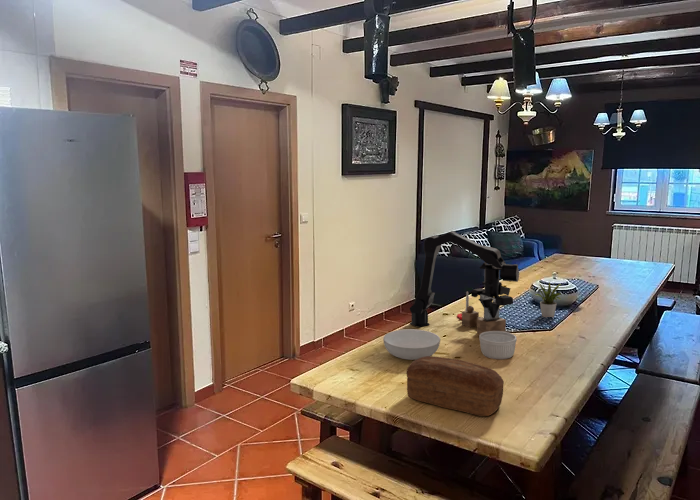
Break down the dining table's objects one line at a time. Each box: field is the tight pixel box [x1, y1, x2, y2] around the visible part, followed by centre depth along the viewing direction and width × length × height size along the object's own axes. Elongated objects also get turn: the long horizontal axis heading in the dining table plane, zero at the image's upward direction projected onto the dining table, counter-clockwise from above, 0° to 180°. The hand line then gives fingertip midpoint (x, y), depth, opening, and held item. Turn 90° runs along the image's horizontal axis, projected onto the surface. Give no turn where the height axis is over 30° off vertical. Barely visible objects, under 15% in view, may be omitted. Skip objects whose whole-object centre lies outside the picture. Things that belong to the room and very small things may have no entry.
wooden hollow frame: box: [461, 305, 507, 335], centre depth 222 cm, size 9×19×9 cm, turn 28°
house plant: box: [531, 281, 563, 318], centre depth 237 cm, size 14×14×16 cm
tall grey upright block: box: [483, 306, 500, 322], centre depth 216 cm, size 6×2×6 cm, turn 118°
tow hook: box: [456, 291, 470, 321], centre depth 240 cm, size 8×13×9 cm
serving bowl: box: [382, 328, 441, 361], centre depth 195 cm, size 21×21×7 cm
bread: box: [405, 355, 504, 417], centre depth 156 cm, size 14×28×12 cm, turn 57°
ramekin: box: [478, 331, 518, 360], centre depth 193 cm, size 13×13×7 cm
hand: (491, 316), depth 216 cm, fingers closed on tall grey upright block, 2 cm apart
